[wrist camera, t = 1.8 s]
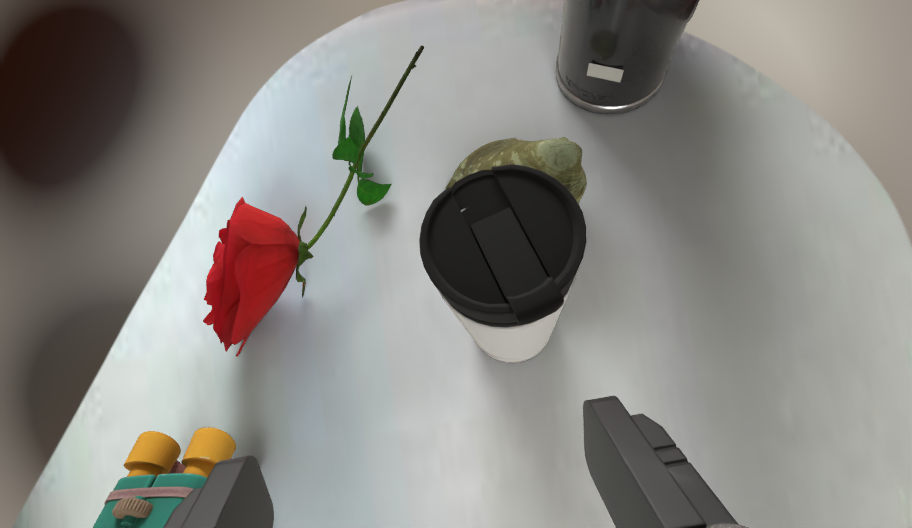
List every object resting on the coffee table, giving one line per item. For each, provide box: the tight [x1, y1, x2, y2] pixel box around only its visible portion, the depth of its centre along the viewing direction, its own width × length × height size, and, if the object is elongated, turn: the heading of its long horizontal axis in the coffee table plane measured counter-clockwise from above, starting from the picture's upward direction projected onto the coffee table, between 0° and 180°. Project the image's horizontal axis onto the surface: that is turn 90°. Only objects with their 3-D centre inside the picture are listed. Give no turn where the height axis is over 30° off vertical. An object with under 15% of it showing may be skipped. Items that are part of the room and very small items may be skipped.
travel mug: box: [420, 164, 586, 363], centre depth 25 cm, size 6×7×20 cm
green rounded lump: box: [446, 137, 587, 204], centre depth 36 cm, size 10×7×10 cm
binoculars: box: [93, 427, 236, 528], centre depth 29 cm, size 9×9×10 cm
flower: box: [203, 46, 424, 356], centre depth 36 cm, size 9×10×30 cm
